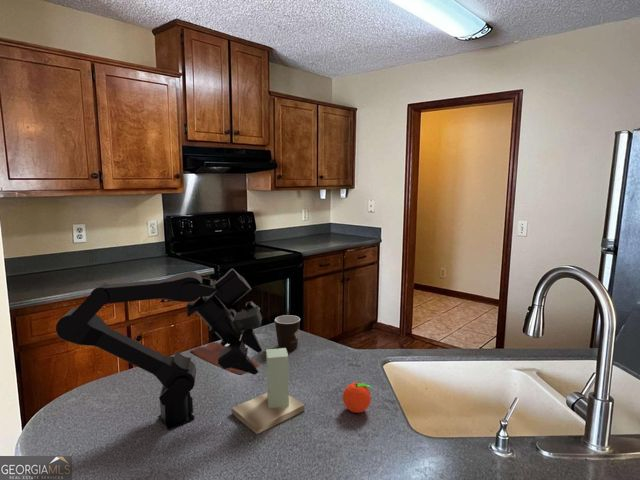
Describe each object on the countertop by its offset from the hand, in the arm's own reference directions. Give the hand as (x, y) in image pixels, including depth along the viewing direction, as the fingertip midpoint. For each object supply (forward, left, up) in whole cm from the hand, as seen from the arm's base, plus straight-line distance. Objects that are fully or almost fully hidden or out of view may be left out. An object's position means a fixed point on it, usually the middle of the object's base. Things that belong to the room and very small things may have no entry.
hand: (258, 361), depth 100 cm
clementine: (+18, -17, -13) cm, 28 cm away
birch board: (+1, -3, -12) cm, 13 cm away
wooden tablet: (+8, +32, -13) cm, 35 cm away
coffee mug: (+30, +25, -12) cm, 40 cm away
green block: (+4, -3, -11) cm, 12 cm away
